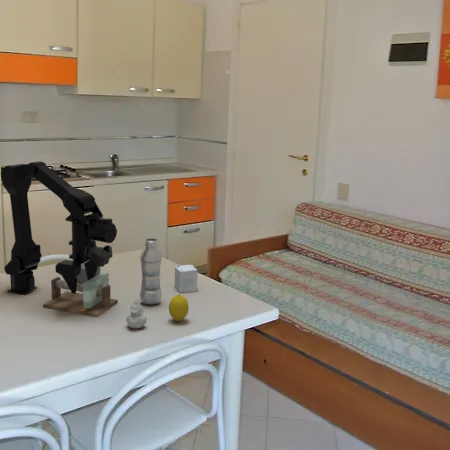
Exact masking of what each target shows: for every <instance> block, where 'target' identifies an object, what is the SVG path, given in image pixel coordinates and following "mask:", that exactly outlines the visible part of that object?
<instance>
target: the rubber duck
mask: <svg viewBox="0 0 450 450" xmlns="http://www.w3.org/2000/svg"><path fill="white" fill-rule="evenodd" d="M144 313H145V312H144V310H143V306H142V305H141V304H140V302H139V303H137V300H135V302H132V305H131V306H130V313H129V314H128V315H127V316H126V324H127V325H128V327H129V328H131V329H140V328H142V327H144V326H145V325H146V323H147V320H148V319H147V316H146V315H145V314H144Z"/></svg>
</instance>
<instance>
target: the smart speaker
mask: <svg viewBox="0 0 450 450" xmlns="http://www.w3.org/2000/svg"><path fill="white" fill-rule="evenodd" d="M96 246H97V247H99V245H97V244H96ZM71 261H74V260H73V259H71ZM80 272H81V274H80V275H79V276H78V278H77V283H81V284H83V283H85V282H87V281H88V278H87V274H86V270H85V266H84V264H82V265H81V271H80ZM99 274H101V267H99V266H98V269H97V272H96V275H95V277H96V276H97V275H99Z"/></svg>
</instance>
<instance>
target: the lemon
mask: <svg viewBox="0 0 450 450" xmlns="http://www.w3.org/2000/svg"><path fill="white" fill-rule="evenodd" d="M189 310H190V309H189V301H188V300H187V298H186V297H185V296H183V295H182V294H181V293H178V294H177V295H174V296H173V297H172V298H171V299H170V301H169V305H168V312H169V315H170V317H171V318H172V319H174V320H175V321H177V322H180V321H181V320H184V319H185V318H186V317H187V315H188V313H189Z"/></svg>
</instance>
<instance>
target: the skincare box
mask: <svg viewBox="0 0 450 450" xmlns="http://www.w3.org/2000/svg"><path fill="white" fill-rule="evenodd" d="M174 288H175V289H176V290H177V291H178V292H179V294H181V293H183V294H184V293H191V292H198V269H197V268H196V267H194V265H193V264H184V265H183V264H182V265H175V266H174Z"/></svg>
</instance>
